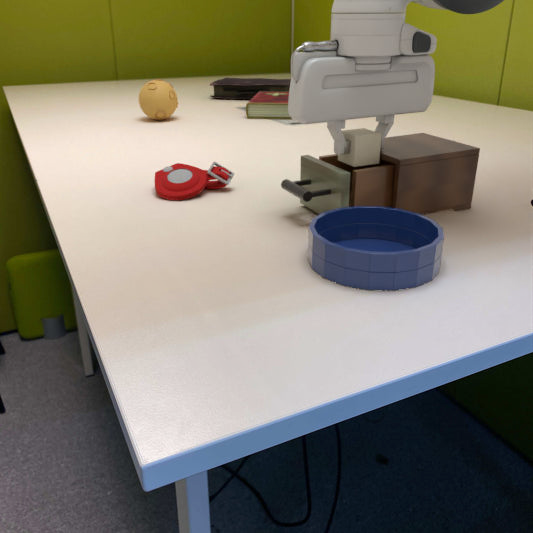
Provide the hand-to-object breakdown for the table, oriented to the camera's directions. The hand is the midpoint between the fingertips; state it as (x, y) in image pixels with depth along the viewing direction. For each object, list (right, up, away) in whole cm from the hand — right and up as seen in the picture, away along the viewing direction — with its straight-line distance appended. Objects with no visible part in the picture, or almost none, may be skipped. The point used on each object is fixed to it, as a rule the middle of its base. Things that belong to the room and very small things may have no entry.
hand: (359, 151), depth 73 cm
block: (0, -1, +1) cm, 1 cm away
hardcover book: (-10, +27, +79) cm, 84 cm away
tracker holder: (-24, -4, +13) cm, 28 cm away
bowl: (-1, -15, -12) cm, 19 cm away
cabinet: (+8, -6, +7) cm, 13 cm away
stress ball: (-40, +23, +70) cm, 84 cm away
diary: (-16, +40, +106) cm, 114 cm away
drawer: (-2, -7, +3) cm, 8 cm away
